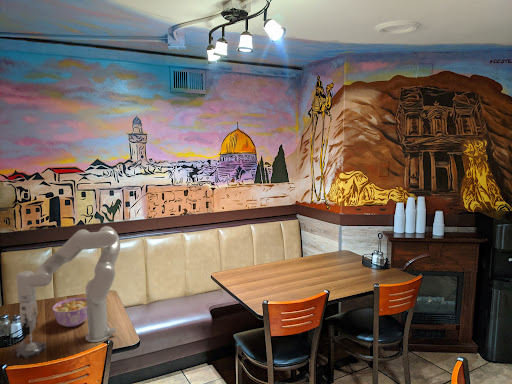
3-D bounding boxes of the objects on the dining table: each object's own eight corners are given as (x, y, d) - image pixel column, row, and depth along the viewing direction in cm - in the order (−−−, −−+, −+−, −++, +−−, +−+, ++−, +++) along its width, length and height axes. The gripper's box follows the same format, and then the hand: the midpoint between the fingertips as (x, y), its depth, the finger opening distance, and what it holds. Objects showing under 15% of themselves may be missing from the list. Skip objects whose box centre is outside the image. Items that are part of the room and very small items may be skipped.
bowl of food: (77, 333, 206) (75, 313, 204) (45, 330, 210) (43, 310, 208) (99, 317, 225) (98, 298, 224) (69, 314, 229) (68, 296, 228)
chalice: (22, 348, 188) (18, 313, 186) (37, 343, 193) (34, 309, 191) (25, 353, 183) (22, 318, 181) (41, 348, 188) (38, 313, 186)
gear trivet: (49, 343, 196) (49, 340, 196) (41, 356, 184) (41, 353, 183) (22, 345, 193) (21, 343, 193) (11, 359, 181) (11, 357, 181)
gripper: (29, 303, 177) (31, 337, 179) (41, 289, 194) (43, 321, 196) (11, 304, 176) (14, 339, 178) (25, 290, 193) (27, 322, 195)
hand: (29, 329), depth 187 cm, fingers open, 9 cm apart
